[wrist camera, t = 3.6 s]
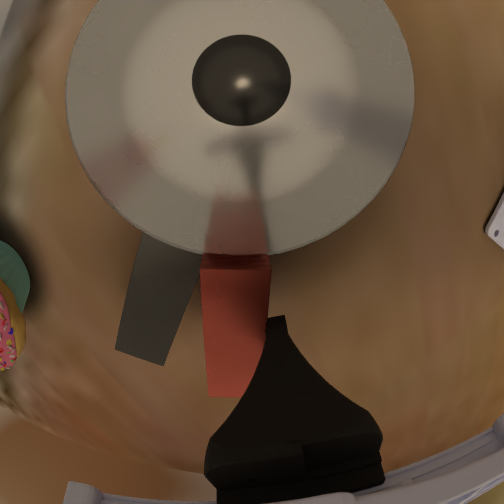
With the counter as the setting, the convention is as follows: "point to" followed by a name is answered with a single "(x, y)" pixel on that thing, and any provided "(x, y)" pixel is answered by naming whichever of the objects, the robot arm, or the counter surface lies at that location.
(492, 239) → the robot arm
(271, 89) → the lid
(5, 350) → the cupcake
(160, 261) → the pot
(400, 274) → the counter surface
